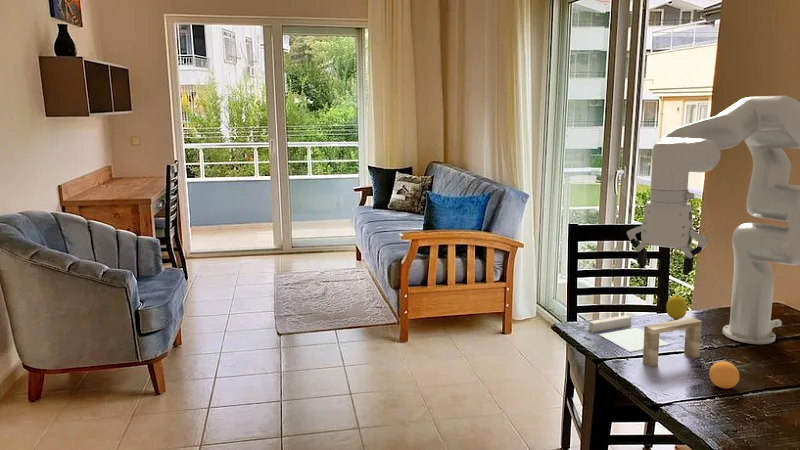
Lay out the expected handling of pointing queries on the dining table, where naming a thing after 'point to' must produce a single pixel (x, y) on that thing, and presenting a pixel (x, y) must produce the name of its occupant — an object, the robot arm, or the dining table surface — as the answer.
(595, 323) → the wall
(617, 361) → the dining table surface
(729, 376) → the ball
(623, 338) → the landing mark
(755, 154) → the robot arm
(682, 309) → the lemon
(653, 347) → the bridge
